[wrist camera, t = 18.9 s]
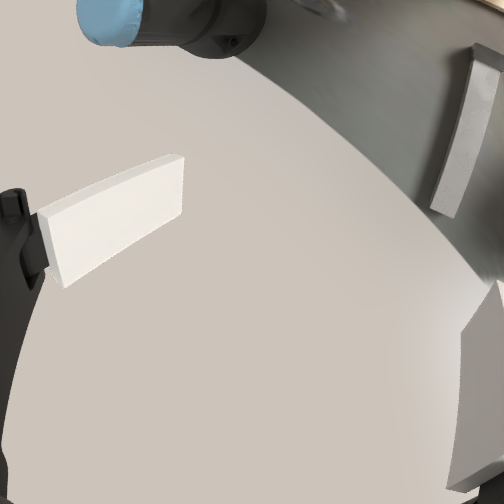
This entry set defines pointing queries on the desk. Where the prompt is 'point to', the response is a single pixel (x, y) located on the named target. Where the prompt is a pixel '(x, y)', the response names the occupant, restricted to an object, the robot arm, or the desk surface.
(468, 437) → the robot arm
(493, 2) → the birch stand
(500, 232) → the desk surface
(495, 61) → the metal block
